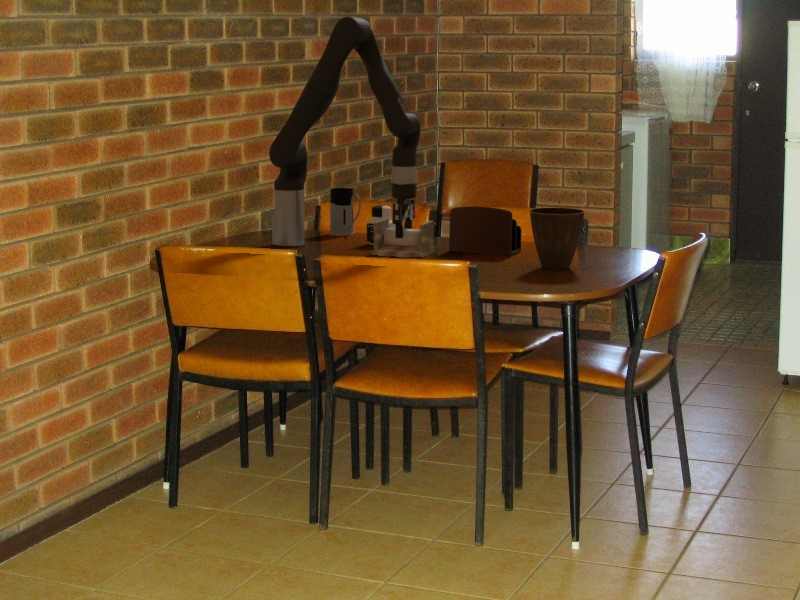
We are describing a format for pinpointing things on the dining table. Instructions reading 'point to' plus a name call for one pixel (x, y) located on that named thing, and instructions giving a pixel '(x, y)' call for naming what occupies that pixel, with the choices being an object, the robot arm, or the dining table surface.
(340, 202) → the glass holder
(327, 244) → the dining table surface
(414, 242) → the paper roll
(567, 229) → the plant pot
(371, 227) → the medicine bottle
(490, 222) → the letter holder
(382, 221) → the roll holder
